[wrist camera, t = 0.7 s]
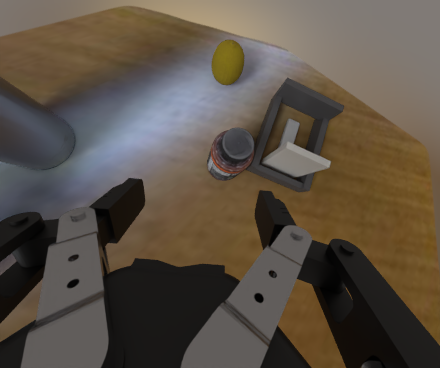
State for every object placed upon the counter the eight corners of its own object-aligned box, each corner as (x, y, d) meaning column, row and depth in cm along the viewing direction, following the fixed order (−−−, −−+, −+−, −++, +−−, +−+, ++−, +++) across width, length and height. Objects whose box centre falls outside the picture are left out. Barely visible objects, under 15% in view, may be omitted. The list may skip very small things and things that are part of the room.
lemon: (203, 76, 33) (207, 36, 25) (225, 64, 34) (235, 21, 27) (221, 99, 33) (230, 65, 25) (242, 85, 34) (257, 49, 26)
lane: (245, 169, 32) (257, 161, 26) (271, 99, 35) (287, 77, 29) (298, 192, 33) (321, 189, 27) (319, 122, 36) (344, 105, 30)
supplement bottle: (222, 143, 32) (238, 109, 21) (244, 165, 32) (272, 143, 21) (199, 164, 31) (204, 140, 20) (223, 188, 31) (240, 177, 20)
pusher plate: (260, 164, 32) (285, 147, 23) (277, 115, 34) (306, 83, 26) (292, 178, 33) (329, 167, 24) (307, 129, 35) (346, 103, 26)
